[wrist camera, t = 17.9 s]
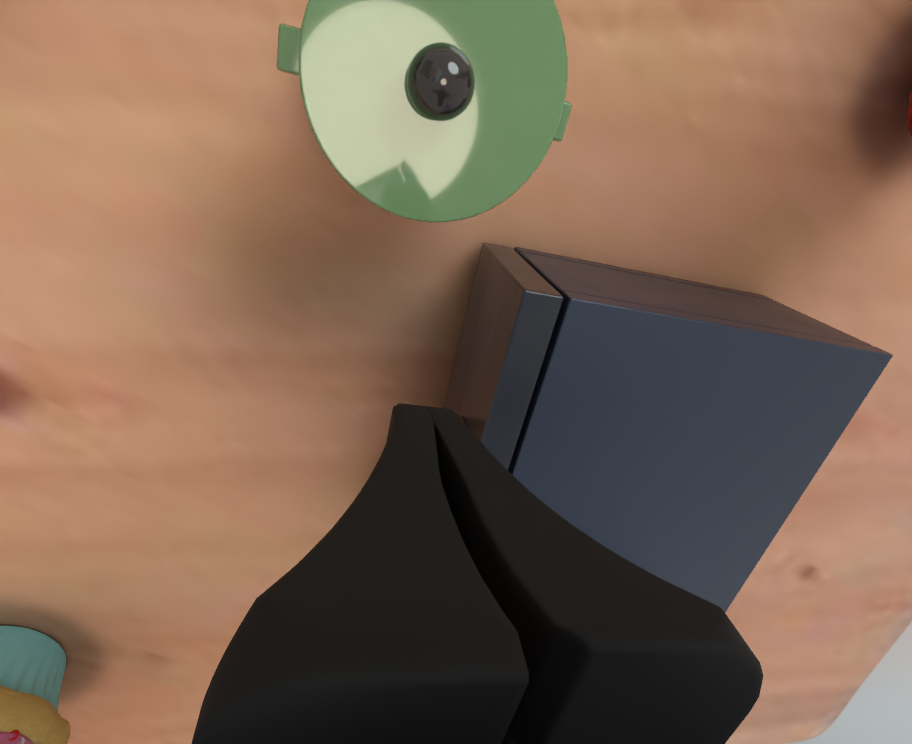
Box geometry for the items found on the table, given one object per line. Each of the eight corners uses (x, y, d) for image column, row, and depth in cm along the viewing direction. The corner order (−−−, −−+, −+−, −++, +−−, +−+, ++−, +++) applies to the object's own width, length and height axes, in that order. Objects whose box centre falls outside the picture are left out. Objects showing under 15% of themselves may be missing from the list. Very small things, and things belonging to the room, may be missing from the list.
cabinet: (444, 508, 25) (464, 618, 19) (514, 246, 19) (570, 297, 14) (650, 521, 27) (719, 622, 22) (764, 295, 22) (894, 355, 16)
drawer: (389, 510, 24) (393, 617, 19) (446, 234, 18) (474, 281, 13) (638, 525, 27) (700, 622, 22) (751, 294, 21) (871, 351, 16)
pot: (494, 206, 18) (564, 259, 12) (298, 164, 17) (247, 197, 10) (538, 22, 16) (661, -47, 9) (314, -47, 14) (262, -194, 8)
